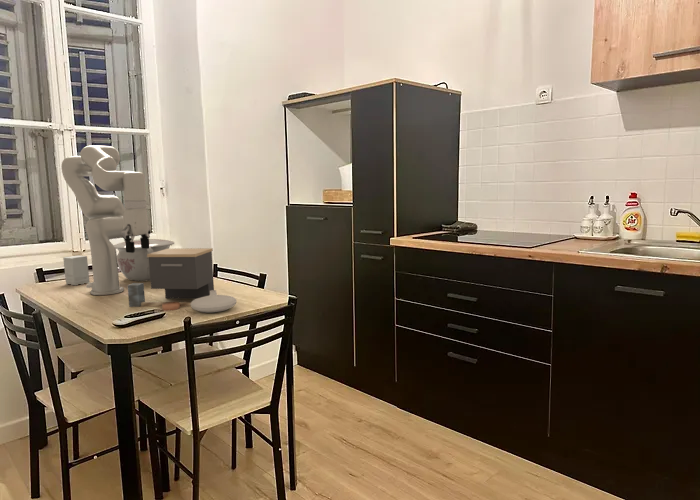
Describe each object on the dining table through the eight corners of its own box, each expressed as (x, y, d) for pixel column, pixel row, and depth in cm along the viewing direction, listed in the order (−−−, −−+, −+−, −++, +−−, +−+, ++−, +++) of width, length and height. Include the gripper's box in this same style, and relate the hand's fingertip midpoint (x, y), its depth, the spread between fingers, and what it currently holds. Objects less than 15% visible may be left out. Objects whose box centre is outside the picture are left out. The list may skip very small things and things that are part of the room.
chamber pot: (136, 273, 254) (132, 232, 251) (187, 273, 250) (184, 232, 248) (101, 284, 227) (97, 239, 224) (158, 284, 223) (154, 238, 220)
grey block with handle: (129, 306, 184) (127, 285, 183) (135, 304, 188) (133, 283, 187) (188, 307, 181) (186, 285, 180) (193, 304, 185) (191, 283, 184)
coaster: (159, 311, 177) (158, 305, 177) (167, 306, 183) (166, 301, 183) (175, 311, 177) (174, 305, 176) (182, 307, 182) (182, 301, 182)
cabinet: (150, 304, 186) (146, 254, 183) (171, 295, 201) (168, 248, 199) (198, 305, 183) (194, 254, 181) (215, 295, 199) (212, 248, 196)
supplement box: (90, 282, 231) (87, 255, 229) (74, 285, 225) (71, 258, 223) (81, 281, 235) (78, 255, 233) (65, 284, 229) (62, 257, 227)
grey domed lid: (193, 318, 166) (192, 297, 165) (188, 308, 180) (187, 288, 179) (241, 312, 172) (240, 292, 171) (232, 302, 187) (231, 284, 186)
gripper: (139, 203, 196) (142, 246, 199) (111, 206, 179) (114, 253, 182) (157, 203, 195) (159, 247, 198) (131, 207, 178) (133, 254, 181)
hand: (138, 250), depth 190 cm, fingers open, 9 cm apart
